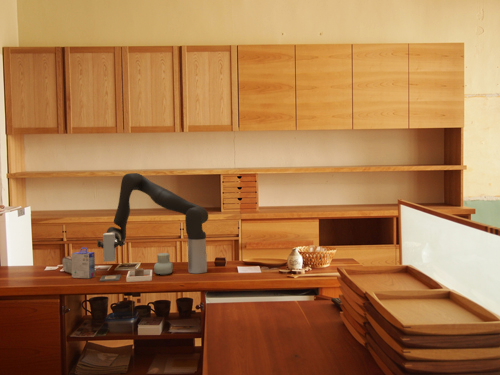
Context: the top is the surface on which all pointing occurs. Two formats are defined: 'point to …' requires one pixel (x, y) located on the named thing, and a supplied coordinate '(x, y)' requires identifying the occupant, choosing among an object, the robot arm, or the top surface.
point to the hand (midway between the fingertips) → (108, 245)
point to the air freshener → (163, 264)
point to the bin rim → (139, 278)
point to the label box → (109, 247)
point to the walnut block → (139, 272)
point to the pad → (110, 278)
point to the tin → (67, 264)
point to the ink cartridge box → (83, 264)
